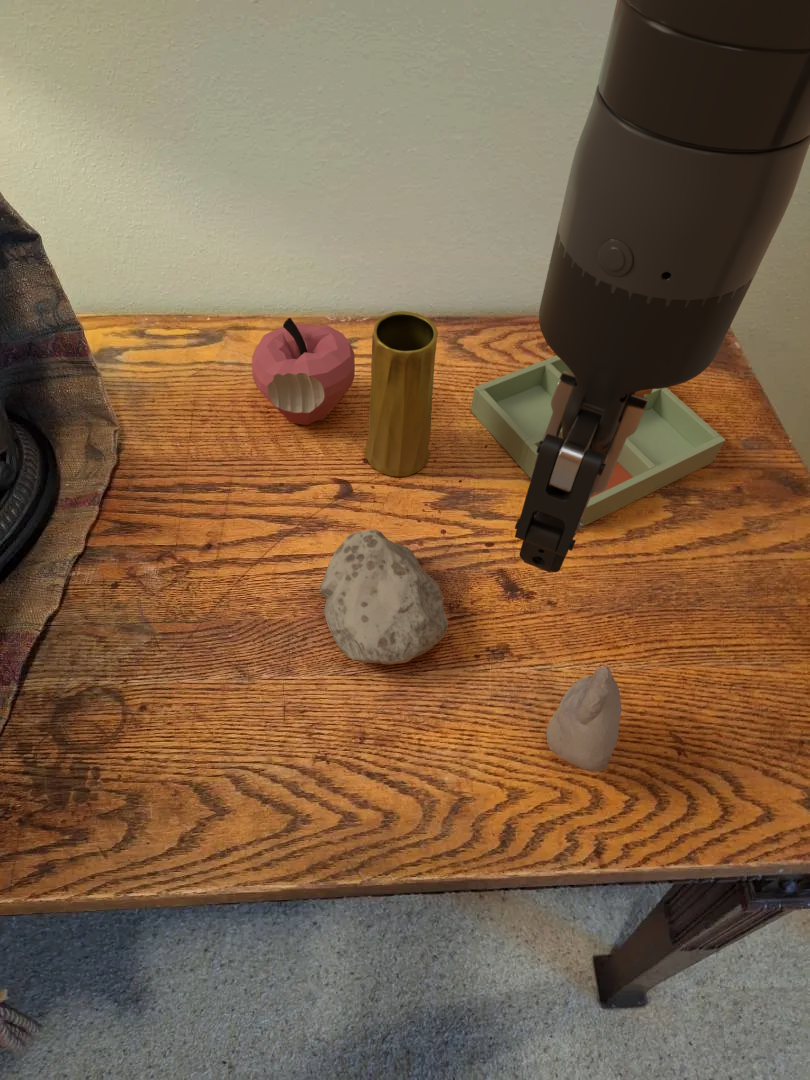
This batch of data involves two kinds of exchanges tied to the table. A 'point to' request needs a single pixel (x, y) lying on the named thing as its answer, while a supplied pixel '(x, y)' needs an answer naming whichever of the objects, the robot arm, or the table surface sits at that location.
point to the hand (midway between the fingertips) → (565, 505)
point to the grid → (646, 458)
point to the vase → (401, 393)
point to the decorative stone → (381, 601)
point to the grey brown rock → (587, 722)
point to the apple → (303, 370)
